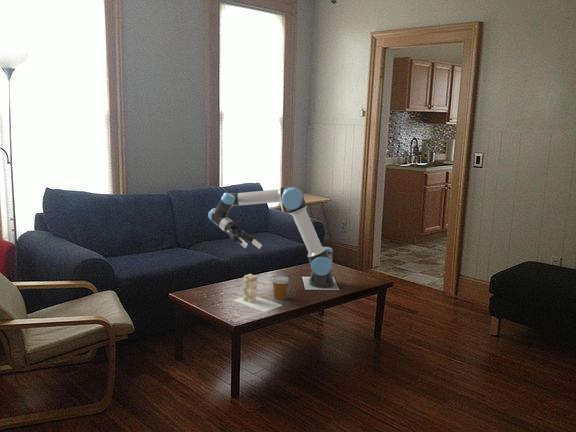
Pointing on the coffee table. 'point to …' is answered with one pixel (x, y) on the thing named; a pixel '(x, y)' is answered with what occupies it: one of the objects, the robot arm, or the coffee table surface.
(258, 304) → the mat
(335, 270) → the coffee table surface
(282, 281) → the disposable coffee cup
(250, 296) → the block
